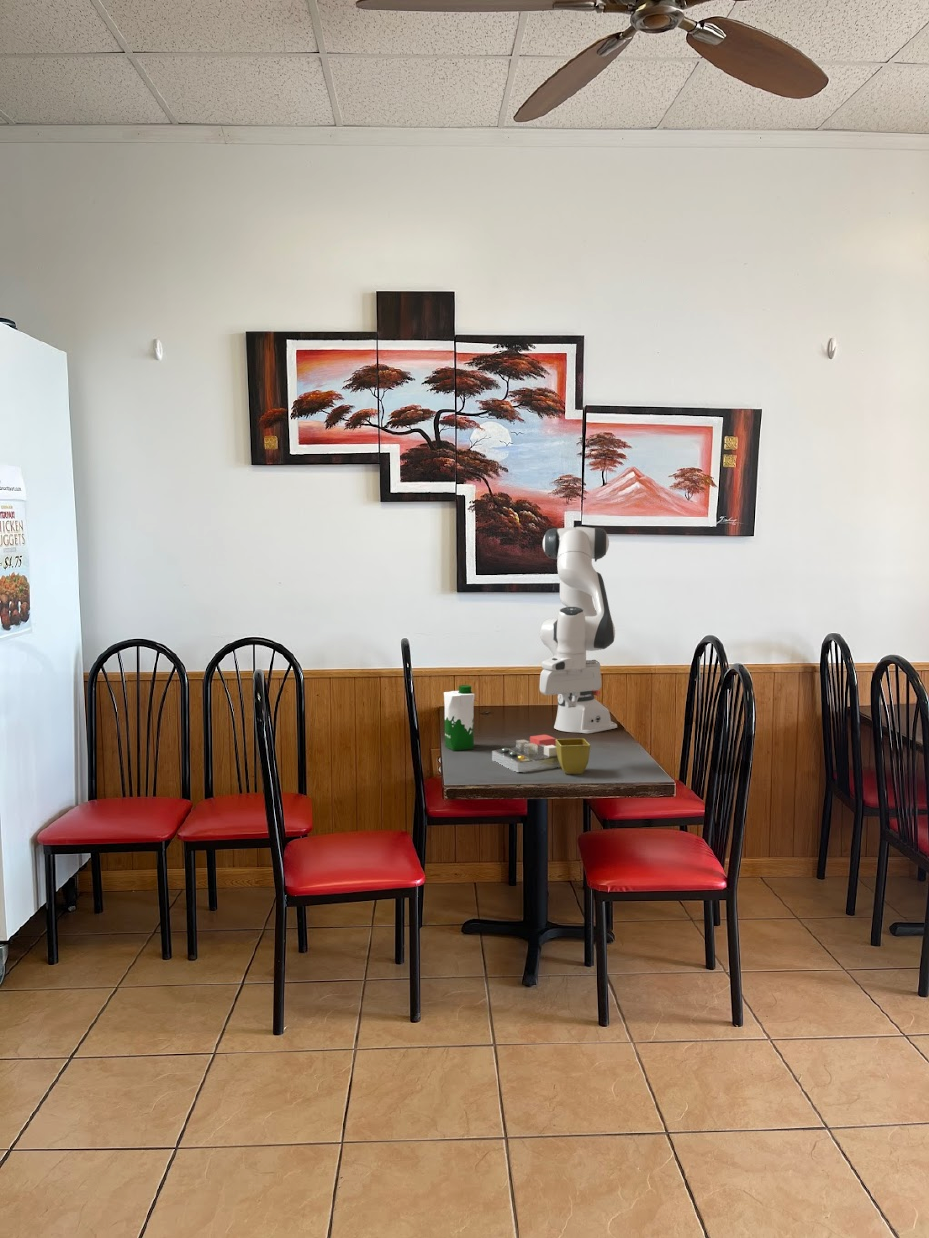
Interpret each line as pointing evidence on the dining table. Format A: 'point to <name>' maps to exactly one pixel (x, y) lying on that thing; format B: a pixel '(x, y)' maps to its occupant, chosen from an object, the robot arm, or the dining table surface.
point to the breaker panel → (525, 757)
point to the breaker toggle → (550, 750)
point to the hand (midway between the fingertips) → (570, 707)
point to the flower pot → (573, 755)
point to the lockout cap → (543, 740)
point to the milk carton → (459, 718)
